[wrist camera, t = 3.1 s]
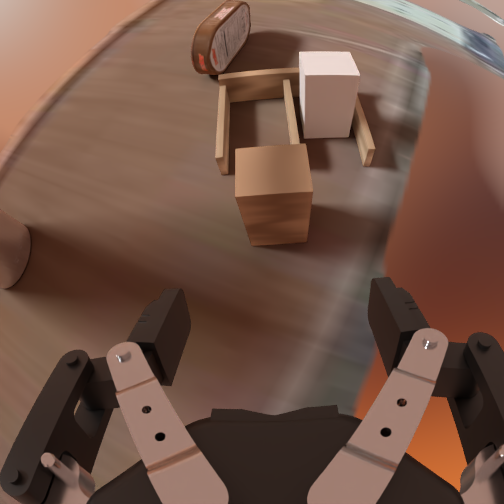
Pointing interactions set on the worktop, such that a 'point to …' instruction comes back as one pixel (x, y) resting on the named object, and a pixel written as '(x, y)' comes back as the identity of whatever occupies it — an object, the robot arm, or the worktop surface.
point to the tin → (220, 37)
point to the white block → (327, 93)
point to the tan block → (274, 193)
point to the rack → (269, 87)
